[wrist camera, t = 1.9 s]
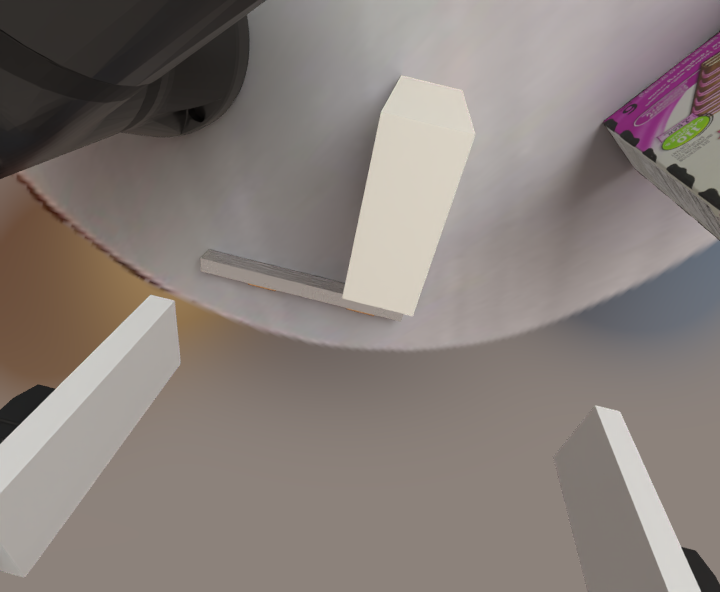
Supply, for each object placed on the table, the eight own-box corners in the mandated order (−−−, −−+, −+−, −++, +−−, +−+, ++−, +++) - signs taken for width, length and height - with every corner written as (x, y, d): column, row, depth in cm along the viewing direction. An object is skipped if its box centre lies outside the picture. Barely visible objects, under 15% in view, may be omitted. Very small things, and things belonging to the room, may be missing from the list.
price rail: (209, 266, 42) (201, 275, 41) (208, 249, 41) (200, 258, 39) (401, 314, 42) (399, 325, 40) (405, 298, 41) (404, 309, 39)
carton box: (370, 214, 36) (342, 298, 26) (401, 75, 30) (381, 111, 19) (421, 226, 36) (415, 316, 26) (464, 90, 30) (478, 135, 19)
